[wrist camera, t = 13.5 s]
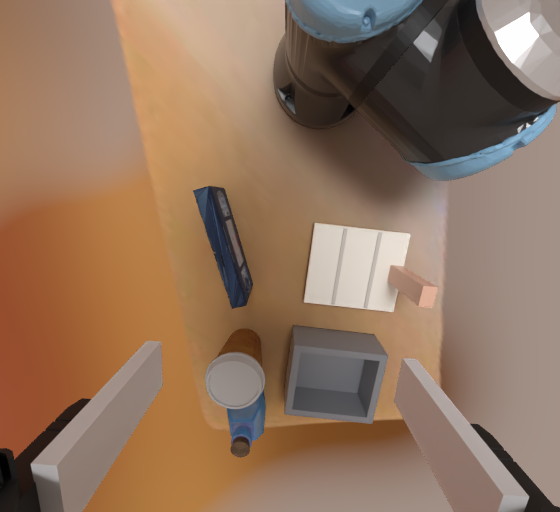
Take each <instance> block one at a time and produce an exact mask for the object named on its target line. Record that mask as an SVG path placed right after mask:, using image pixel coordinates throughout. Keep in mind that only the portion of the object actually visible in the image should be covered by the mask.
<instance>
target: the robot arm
mask: <svg viewBox="0 0 560 512" xmlns="http://www.w3.org/2000/svg"><path fill="white" fill-rule="evenodd" d="M420 33H421V34H420ZM414 40H415V41H414ZM409 46H410V47H409ZM404 52H405V53H404ZM403 53H404V54H403ZM399 58H400V59H399ZM398 59H399V60H398ZM393 65H394V66H393ZM392 66H393V67H392ZM388 71H389V72H388ZM387 72H388V73H387ZM273 74H274V86H275V91H276V94H277V97H278V100H279V102H280V104H281V106H282V107H283V109H284V110H285V112H286V113H287V114H288V115H289V116H290V117H291V118H292V119H294V120H295V121H296V122H298V123H300V124H302V125H304V126H307V127H310V128H316V129H324V128H330V127H334V126H336V125H339V124H341V123H343V122H344V121H346V120H347V119H348V118H350V117H351V116H352V115H353V114H354V113H355V112H356V111H358V112H359V113H360V114H361V115H362V116H363V117H364V118H365V119H366V120H367V121H368V122H369V123H370V124H371V125H372V126H373V127H374V128H375V129H376V130H377V131H378V132H379V133H380V134H381V135H382V136H383V137H384V138H385V139H386V140H387V141H388V142H389V143H390V144H391V145H392V146H393V147H394V148H395V149H396V150H397V151H398V152H399V153H400V154H401V157H402V159H403V160H404V161H405V162H406V163H409V164H410V165H413V166H414V167H415V168H416V169H417V170H418V171H419V172H421V173H422V174H423V175H424V176H425V177H428V178H430V179H432V180H437V181H449V180H455V179H460V178H464V177H467V176H470V175H473V174H476V173H478V172H481V171H483V170H485V169H488V168H490V167H492V166H494V165H496V164H498V163H499V162H501V161H503V160H505V159H507V158H508V157H510V156H512V154H513V151H514V150H515V149H517V148H520V147H524V146H526V145H528V144H529V143H530V142H531V141H533V140H534V139H535V138H536V137H538V136H539V135H540V134H541V133H542V132H543V131H544V129H545V128H546V127H547V126H548V125H549V124H550V123H551V121H552V119H553V117H554V115H555V113H556V104H557V103H558V102H560V0H285V34H284V36H283V38H282V39H281V41H280V43H279V46H278V48H277V51H276V55H275V60H274V69H273ZM383 77H384V78H383ZM382 78H383V79H382ZM381 79H382V80H381ZM378 83H379V84H378ZM377 84H378V85H377ZM376 85H377V86H376ZM372 90H373V91H372ZM371 91H372V92H371ZM370 92H371V93H370ZM367 96H368V97H367ZM366 97H367V98H366ZM365 98H366V99H365ZM162 379H163V378H162V354H161V342H158V341H146V342H145V343H144V344H143V346H142V347H140V349H139V350H138V351H137V352H136V353H135V354H134V355H133V356H132V357H131V358H130V359H129V360H128V361H127V362H126V363H125V365H123V367H122V368H121V369H120V370H119V371H118V372H117V373H116V374H115V375H114V376H113V377H112V378H111V379H110V380H109V382H107V383H106V385H105V386H104V387H103V388H102V389H101V390H100V391H99V392H98V393H97V394H96V395H95V396H94V397H93V398H92V399H81V400H79V401H77V402H76V403H74V404H73V405H71V406H70V407H68V408H67V409H66V410H65V411H64V412H63V413H62V414H61V415H60V416H59V417H58V418H57V419H56V420H55V422H52V423H51V424H50V425H49V426H48V427H47V428H46V431H43V432H42V433H41V434H40V435H39V436H38V437H37V438H36V439H35V440H34V441H33V442H32V443H31V444H30V445H29V446H28V447H27V448H26V449H25V450H24V451H23V452H22V453H21V454H20V455H19V456H18V457H17V458H16V459H15V460H14V456H13V452H12V451H11V450H9V449H7V448H4V449H0V512H82V511H83V510H84V508H85V507H86V505H87V504H88V502H89V500H90V499H91V497H92V496H93V494H94V493H95V491H96V489H97V488H98V486H99V485H100V483H101V482H102V480H103V478H104V477H105V475H106V474H107V472H108V470H109V469H110V467H111V466H112V464H113V463H114V461H115V460H116V458H117V456H118V455H119V453H120V452H121V450H122V448H123V447H124V445H125V444H126V442H127V441H128V439H129V438H130V436H131V434H132V433H133V431H134V430H135V428H136V427H137V425H138V423H139V422H140V420H141V419H142V417H143V415H144V414H145V412H146V411H147V409H148V408H149V406H150V405H151V403H152V402H153V400H154V398H155V397H156V395H157V394H158V392H159V391H160V389H161V387H162V386H163V380H162ZM394 402H395V404H396V406H397V407H398V409H399V411H400V413H401V415H402V417H403V419H404V420H405V422H406V424H407V426H408V428H409V430H410V431H411V433H412V435H413V437H414V439H415V441H416V443H417V444H418V446H419V448H420V450H421V452H422V454H423V455H424V457H425V459H426V461H427V463H428V465H429V467H430V468H431V470H432V472H433V474H434V476H435V478H436V479H437V481H438V483H439V485H440V487H441V489H442V490H443V492H444V494H445V496H446V498H447V500H448V502H449V504H450V505H451V507H452V509H453V511H454V512H560V508H559V507H556V506H554V505H553V504H552V503H551V502H550V501H549V500H548V499H547V497H546V496H545V495H544V494H543V493H542V492H541V491H540V489H539V488H538V487H537V486H536V485H535V484H534V483H533V482H532V480H531V479H530V478H529V477H528V476H527V475H526V473H525V472H524V471H523V470H522V469H521V468H520V467H519V465H518V464H517V463H516V462H514V461H513V459H512V458H511V456H510V455H509V454H508V453H507V452H506V451H504V449H503V447H502V446H501V445H500V444H499V443H498V441H497V440H496V439H495V438H494V437H493V436H492V435H491V434H490V433H489V432H487V431H486V430H485V429H483V428H482V427H481V426H480V425H478V424H469V422H468V421H467V420H466V419H465V418H464V416H463V415H462V414H461V413H460V411H459V410H458V409H457V408H456V407H455V405H454V404H453V403H452V402H451V400H450V399H449V398H448V397H447V396H446V394H445V393H444V392H443V391H442V389H441V388H440V387H439V386H438V385H437V383H436V382H435V381H434V380H433V378H432V377H431V376H430V375H429V374H428V372H427V371H426V370H425V369H424V367H423V366H422V365H421V364H420V363H419V361H418V360H417V359H410V358H402V363H401V368H400V373H399V378H398V383H397V388H396V394H395V399H394Z"/></svg>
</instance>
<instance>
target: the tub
mask: <svg viewBox="0 0 560 512" xmlns="http://www.w3.org/2000/svg"><path fill="white" fill-rule="evenodd" d="M387 359H388V355H387V353H386V352H385V350H384V349H383V347H382V346H381V344H380V343H379V341H378V339H377V338H376V336H375V335H374V334H366V333H357V332H349V331H340V330H331V329H322V328H313V327H304V326H296V325H293V329H292V336H291V343H290V350H289V358H288V365H287V372H286V379H285V386H284V401H285V414H286V415H295V416H304V417H314V418H323V419H332V420H342V421H351V422H360V423H369V424H372V422H373V418H374V414H375V409H376V405H377V401H378V397H379V393H380V388H381V384H382V380H383V376H384V372H385V367H386V363H387Z"/></svg>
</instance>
